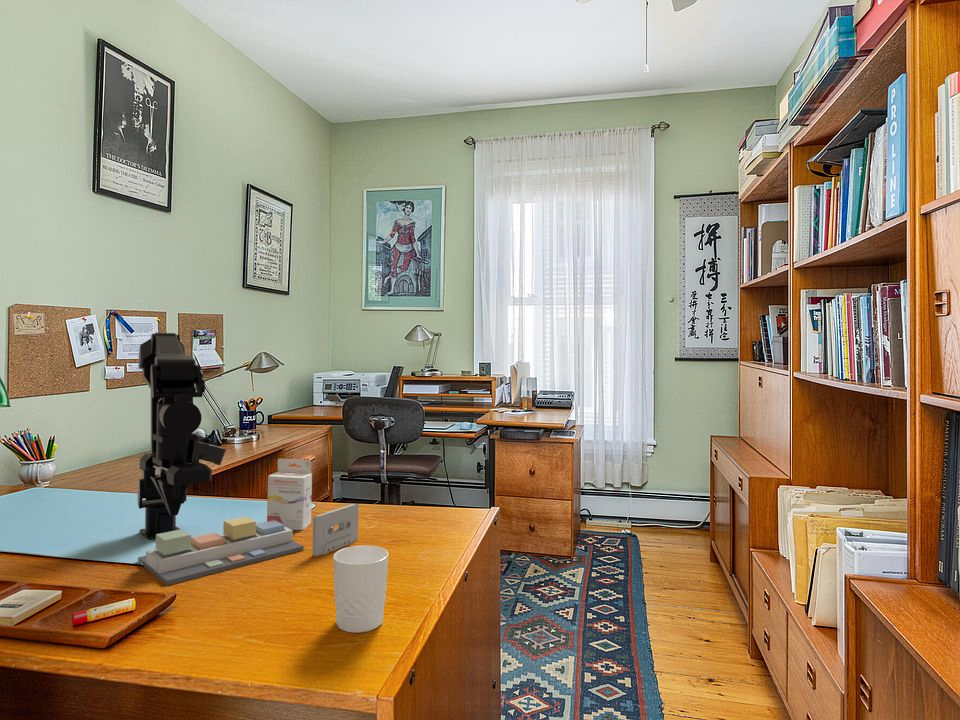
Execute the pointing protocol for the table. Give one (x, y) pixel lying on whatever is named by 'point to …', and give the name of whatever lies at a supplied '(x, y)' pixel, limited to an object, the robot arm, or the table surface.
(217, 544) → the key terracotta
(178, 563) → the keypad base
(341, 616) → the white cup
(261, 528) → the key slate
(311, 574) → the table surface
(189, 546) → the key sage
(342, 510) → the cassette
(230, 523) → the key ochre
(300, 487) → the ink cartridge box
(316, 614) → the table surface
